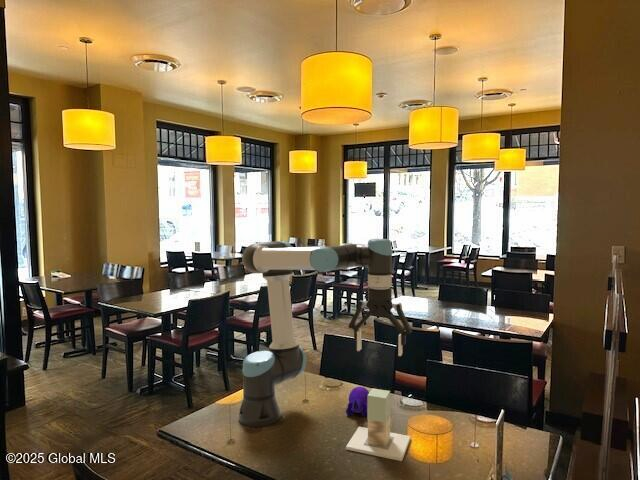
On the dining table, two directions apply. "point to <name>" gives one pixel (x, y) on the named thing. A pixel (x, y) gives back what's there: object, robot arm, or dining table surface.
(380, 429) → the block maple
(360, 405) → the toy
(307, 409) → the dining table surface
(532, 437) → the dining table surface
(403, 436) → the base plate
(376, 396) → the block sage
